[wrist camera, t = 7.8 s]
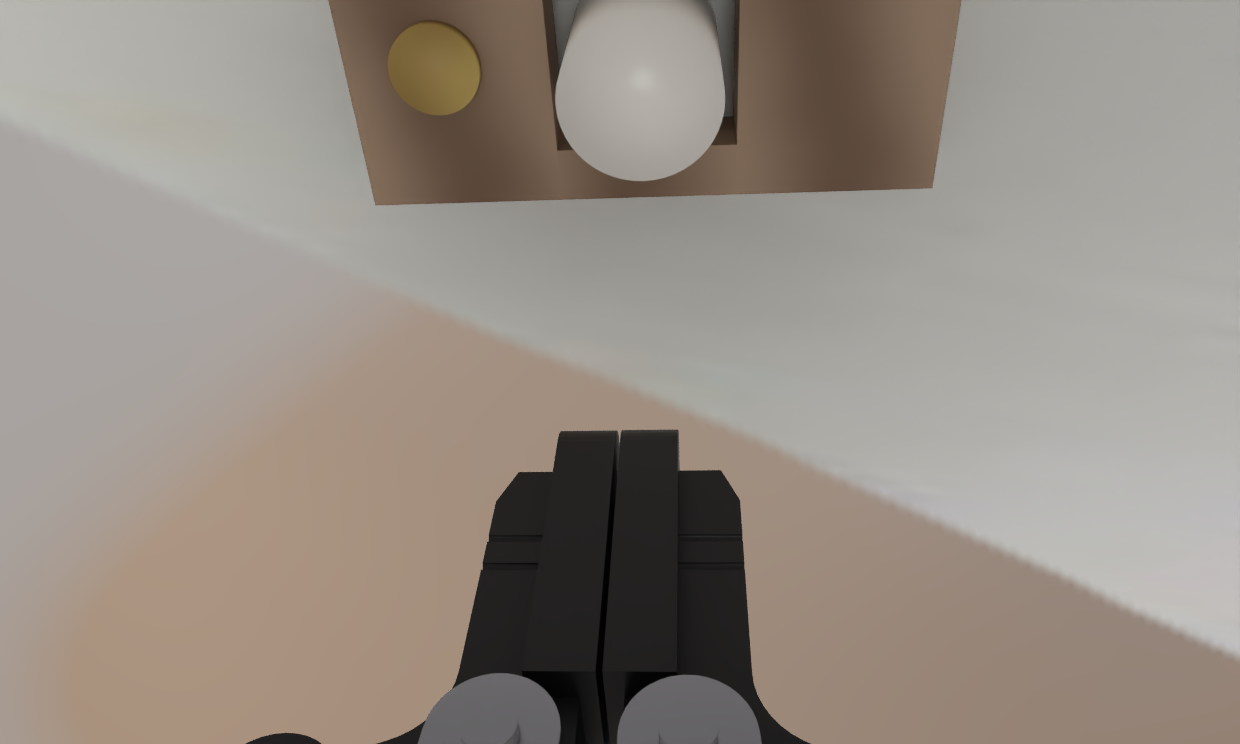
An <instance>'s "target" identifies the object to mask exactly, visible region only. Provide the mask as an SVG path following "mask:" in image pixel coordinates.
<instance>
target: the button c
mask: <svg viewBox="0 0 1240 744" xmlns="http://www.w3.org/2000/svg"><path fill="white" fill-rule="evenodd" d="M555 104H556V112H557V117H558V121H559V124H560V127H561V129H562V131H563V134H564V136H565V138H566V139H567V141H568V142H569V144H570V146H571V147H572V148H573V149H574V151H575V152H576V153H577V154H578V155H579V156H580V157H581V158H582V159H583V160H584V161H585V162H587V163H588V164H589V165H591V166H592V167H594V168H595V169H597V170H599V171H601V172H603V173H605V174H607V175H610V176H612V177H616V178H619V179H624V180H630V181H650V180H657V179H661V178H665V177H668V176H671V175H674V174H676V173H678V172H680V171H682V170H684V169H685V168H687V167H689V166H690V165H692V164H693V163H694V162H695V161H696V160H698V159H699V158H700V157H701V156H702V155H703V154H704V153H705V151H706V150H707V149H708V148H709V146H710V145H711V144H712V142H713V141H714V139H715V137H716V135H717V133H718V131H719V128H720V125H721V123H722V119H723V115H724V109H725V88H724V80H723V72H722V65H721V57H720V49H719V41H718V34H717V26H716V20H715V15H714V11H713V8H712V5H711V3H710V1H709V0H580V2H579V4H578V7H577V9H576V12H575V16H574V20H573V24H572V27H571V31H570V35H569V38H568V42H567V46H566V50H565V53H564V57H563V61H562V64H561V68H560V72H559V76H558V80H557V84H556V93H555Z"/></svg>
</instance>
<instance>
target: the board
mask: <svg viewBox="0 0 1240 744" xmlns="http://www.w3.org/2000/svg"><path fill="white" fill-rule="evenodd" d="M329 5H330V9H331V13H332V18H333V22H334V26H335V31H336V35H337V39H338V44H339V48H340V53H341V57H342V61H343V66H344V70H345V74H346V79H347V83H348V87H349V92H350V96H351V100H352V105H353V109H354V113H355V118H356V122H357V127H358V131H359V135H360V140H361V144H362V148H363V153H364V157H365V161H366V166H367V170H368V174H369V179H370V183H371V187H372V192H373V196H374V201H375V205H399V204H432V203H465V202H497V201H530V200H563V199H595V198H628V197H661V196H693V195H726V194H759V193H791V192H824V191H857V190H889V189H922V188H932V186H933V180H934V173H935V167H936V160H937V154H938V147H939V141H940V135H941V128H942V122H943V115H944V109H945V102H946V96H947V89H948V83H949V77H950V70H951V64H952V57H953V51H954V44H955V38H956V31H957V25H958V18H959V12H960V6H961V0H735V37H734V94H733V117H723V119H722V123H721V125H720V128H719V131H718V133H717V135H716V137H715V139H714V141H713V142H712V144H711V145H710V146H709V148H708V149H707V150H706V151H705V153H704V154H703V155H702V156H701V157H700V158H699V159H698V160H696V161H695V162H694V163H693V164H692V165H690V166H689V167H687V168H685V169H684V170H682V171H680V172H678V173H676V174H674V175H671V176H668V177H665V178H661V179H657V180H650V181H630V180H624V179H619V178H616V177H612V176H610V175H607V174H605V173H603V172H601V171H599V170H597V169H595V168H594V167H592V166H591V165H589V164H588V163H587V162H585V161H584V160H583V159H582V158H581V157H580V156H579V155H578V154H577V153H576V152H575V151H574V149H573V148H572V147H571V146H570V144H569V142H568V141H567V139H566V138H565V136H564V134H563V131H562V129H561V127H560V124H559V121H558V117H557V112H556V104H555V93H556V84H557V80H558V76H559V69H558V58H557V47H556V37H555V26H554V15H553V5H552V0H329Z"/></svg>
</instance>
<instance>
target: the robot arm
mask: <svg viewBox="0 0 1240 744" xmlns="http://www.w3.org/2000/svg"><path fill="white" fill-rule="evenodd" d="M743 554H744V553H743V541H742V524H741V510H740V500H739V498H738V497H737V495H736V493H735V492H734V490H733V489H732V487H731V486H730V484H729V482H728V481H727V479H726V478H725V476H724V475H723V473H722V472H721V471H720V470H716V471H715V470H712V471H709V470H708V471H680V469H679V433H678V430H622V432H621V438H620V445H619V435H618V431H561V432H560V434H559V437H558V443H557V450H556V456H555V462H554V468H553V472H519V473H518V474H517V475H516V477H515V478H514V479H513V481H512V482H511V483H510V484H509V486H508V487H507V488H506V490H505V491H504V492H503V494H502V495H501V496H500V497H499V499H498V500H497V501H496V505H495V509H494V514H493V518H492V523H491V528H490V532H489V542H487V546H486V550H485V555H484V559H483V570H481V573H480V578H479V582H478V587H477V591H476V596H475V600H474V605H473V609H472V614H471V619H470V623H469V628H468V633H467V637H466V641H465V646H464V651H463V655H462V660H461V664H460V669H459V673H458V676H457V679H456V682H455V684H454V686H453V688H452V689H451V690H450V691H449V692H448V693H447V694H445V695H444V696H443V697H442V698H441V699H440V700H439V701H438V703H437V704H436V705H435V706H434V707H433V709H432V710H431V712H430V714H429V715H428V717H427V719H426V721H424V722H423V723H422V724H420V725H419V726H417V727H416V728H414V729H413V730H411V731H409V732H407V733H405V734H403V735H401V736H398V737H396V738H393V739H390V740H387V741H384V742H381V743H378V744H810V743H807V742H805V741H803V740H801V739H800V738H798V737H796V736H794V735H792V734H791V733H790V732H788V731H787V730H786V729H784V728H783V727H781V726H780V725H779V724H778V723H777V722H776V721H775V720H774V719H773V718H772V717H771V716H770V714H769V713H768V712H767V710H766V709H765V708H764V706H763V704H762V703H761V701H760V699H759V697H758V695H757V692H756V689H755V686H754V683H753V676H752V667H751V653H750V639H749V625H748V610H747V595H746V582H745V570H744V555H743ZM246 744H321V743H320V742H318V741H317V740H315V739H313V738H311V737H308V736H305V735H301V734H294V733H281V734H273V735H269V736H264V737H261V738H258V739H255V740H253V741H250V742H248V743H246Z"/></svg>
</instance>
